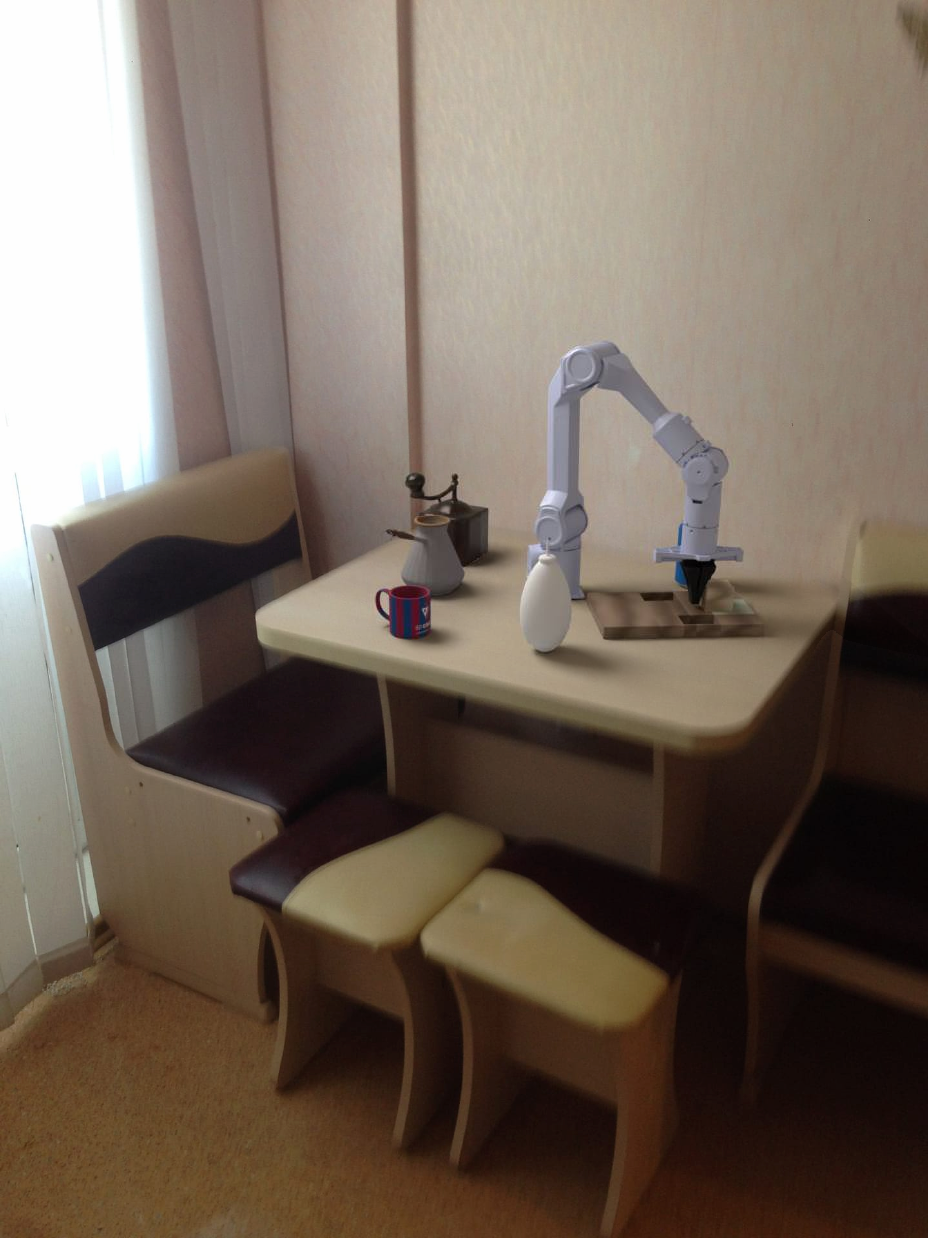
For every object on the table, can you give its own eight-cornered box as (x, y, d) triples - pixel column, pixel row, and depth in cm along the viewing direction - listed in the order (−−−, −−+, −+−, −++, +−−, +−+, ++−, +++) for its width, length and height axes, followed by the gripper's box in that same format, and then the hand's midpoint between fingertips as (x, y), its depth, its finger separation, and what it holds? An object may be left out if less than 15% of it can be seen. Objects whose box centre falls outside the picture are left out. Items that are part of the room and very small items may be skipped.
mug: (412, 642, 170) (411, 602, 168) (366, 627, 176) (365, 588, 174) (439, 630, 175) (439, 590, 173) (393, 616, 181) (393, 577, 179)
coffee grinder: (440, 544, 219) (440, 457, 212) (489, 552, 214) (490, 463, 207) (401, 566, 206) (400, 473, 199) (452, 575, 201) (452, 480, 194)
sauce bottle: (556, 663, 163) (561, 550, 156) (510, 653, 166) (513, 542, 160) (577, 646, 169) (582, 536, 163) (532, 636, 173) (535, 528, 166)
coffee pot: (421, 574, 201) (420, 496, 196) (475, 584, 196) (476, 504, 191) (358, 610, 184) (355, 525, 178) (416, 622, 179) (415, 535, 173)
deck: (603, 638, 172) (604, 627, 171) (586, 603, 187) (587, 592, 186) (763, 635, 174) (764, 624, 173) (733, 601, 188) (734, 590, 188)
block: (705, 611, 178) (707, 589, 176) (698, 602, 182) (700, 580, 181) (732, 611, 178) (734, 588, 177) (724, 601, 182) (726, 579, 181)
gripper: (662, 531, 170) (656, 611, 175) (752, 530, 171) (744, 609, 176) (652, 518, 177) (647, 596, 182) (739, 517, 178) (731, 595, 183)
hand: (694, 602), depth 179 cm, fingers closed
